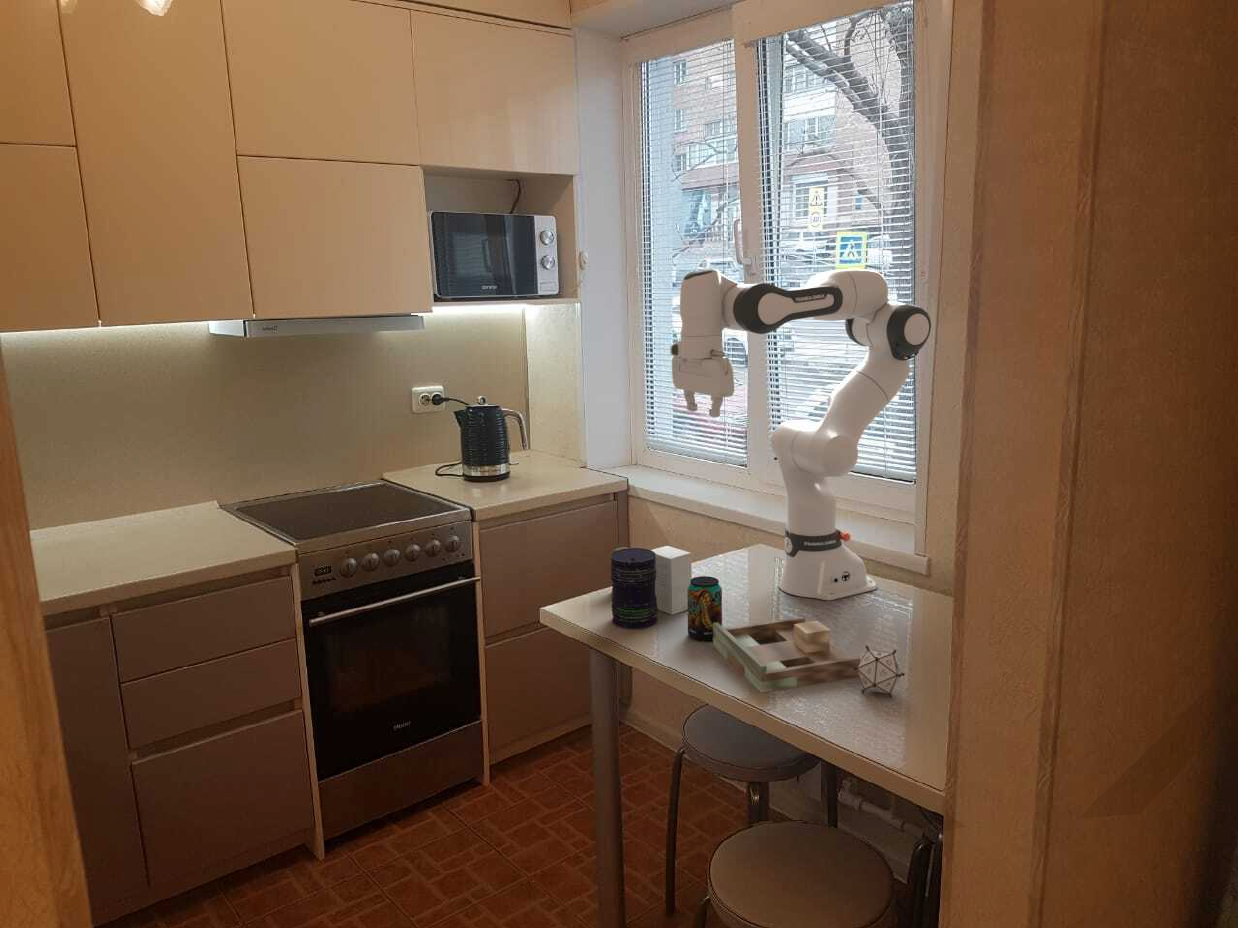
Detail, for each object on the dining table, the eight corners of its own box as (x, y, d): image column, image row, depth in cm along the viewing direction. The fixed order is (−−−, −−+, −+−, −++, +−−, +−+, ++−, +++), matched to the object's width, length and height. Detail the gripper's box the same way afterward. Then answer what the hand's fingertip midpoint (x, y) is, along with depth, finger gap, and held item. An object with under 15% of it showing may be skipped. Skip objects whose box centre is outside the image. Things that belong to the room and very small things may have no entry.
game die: (866, 709, 165) (841, 656, 168) (909, 690, 165) (884, 638, 168) (872, 706, 156) (846, 651, 160) (919, 687, 156) (891, 632, 160)
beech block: (816, 639, 181) (817, 620, 181) (829, 649, 177) (829, 629, 176) (793, 643, 180) (794, 624, 179) (806, 653, 175) (806, 633, 174)
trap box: (802, 632, 190) (802, 609, 189) (859, 675, 170) (860, 650, 169) (713, 646, 185) (712, 622, 184) (761, 692, 164) (761, 666, 163)
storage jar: (612, 612, 204) (611, 548, 201) (657, 612, 204) (656, 547, 200) (611, 630, 194) (609, 562, 191) (657, 629, 194) (656, 561, 191)
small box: (692, 608, 205) (692, 552, 203) (671, 615, 201) (670, 558, 199) (668, 599, 211) (667, 544, 209) (647, 605, 208) (646, 550, 205)
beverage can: (692, 643, 186) (691, 587, 183) (684, 630, 193) (683, 576, 190) (725, 641, 187) (725, 585, 184) (717, 628, 194) (716, 573, 191)
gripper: (741, 350, 184) (742, 418, 187) (691, 344, 203) (692, 406, 206) (714, 353, 182) (715, 422, 185) (666, 346, 200) (667, 409, 203)
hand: (703, 413), depth 195 cm, fingers open, 8 cm apart
